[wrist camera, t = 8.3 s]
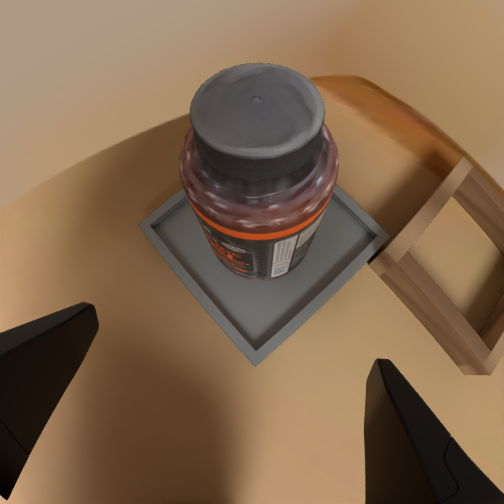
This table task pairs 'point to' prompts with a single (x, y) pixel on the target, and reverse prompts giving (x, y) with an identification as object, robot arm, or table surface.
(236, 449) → the table surface
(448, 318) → the walnut collar
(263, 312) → the slate tray
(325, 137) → the supplement bottle
